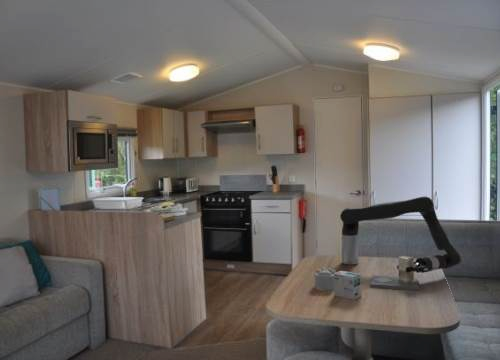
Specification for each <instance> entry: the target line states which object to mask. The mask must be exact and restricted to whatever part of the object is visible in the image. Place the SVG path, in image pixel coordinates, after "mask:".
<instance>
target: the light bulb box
mask: <svg viewBox="0 0 500 360" xmlns="http://www.w3.org/2000/svg"><path fill="white" fill-rule="evenodd" d="M361 279H362V278H361V273H356V272H351V271H344V270H339V271H336V273H334V290H333V291H334V293H333V294H334V295H336V297H339V296H340V297H339V298H343V297H344V299H347V298H348V300H352V301H354V300H355V301H356V299H359V298H361V297H362V285H361V284H362V282H361ZM334 295H333V296H334Z"/></svg>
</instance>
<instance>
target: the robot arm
mask: <svg viewBox="0 0 500 360" xmlns="http://www.w3.org/2000/svg"><path fill="white" fill-rule="evenodd" d="M411 213H412V214H414V213H419V214H420V215H421V216H422V218H423V219H424V221H425V223H426V226H427V228H428V229H429V233H430V235H431V238H432V240H433V242H434V244H435V247H436V248H437V250H438V251H444V252H445V254H442V255H440V254H436V255H428V256H422V257H417V258H416V259H415V261H414V266H413V267H407V268H406V272H412V271H413V272H414V273H415V272H416V273H422V274H424V273H428V272H434V271H436V270H440V269H444V270H445V269H450V268H452V267H456V266H457V265H459V264H461V261H462V258H461V255H460V253H459V252H458V251H457V249H456V248H455V247H454V246H453V245H452V243H451V241H450V239H449V238H448V236H447V233H446V232H445V230H444V228H443V227H442V224H441V222H440V221H439V219H438V216H437V213H436V210H435V204H434V202H433V200H432V199H431V198H430V197H429V196H423V195H422V196H419V197H415V198H411V199H410V198H409V199H406V200H405V199H404V200H396V201H388V202H381V203H376V204H371V205H369V206H365V207H360V208H355V207H352V206H348V207H345V208H344V209H343V210H342V211H341V213H340V220H341V221H342V229H341V238H342V239H341V241H342V245H341V263H342V264H345V265H357V264H359V226H360V225H359V222H364V221H374V220H375V221H376V220H377V221H378V220H387V219H394V218H397V217H400V216H402V215H406V214H411ZM396 267H397V268H396V269H397V270H398V271H399V269H398V264H397V266H396Z"/></svg>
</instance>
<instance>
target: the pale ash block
mask: <svg viewBox="0 0 500 360" xmlns="http://www.w3.org/2000/svg"><path fill="white" fill-rule="evenodd" d="M397 259H398V260H397V261H398V264H397V265H398V269H399V270H398V269H397V270H398V277H399V281H401V282H404V283H410V282H414V278H415V277H414V276H415V275H414V274H415V272H413V271H412V272H406V268H407V267H413V266H414V259H415V258H414V257H413V256H409V255H401V256H398V258H397Z"/></svg>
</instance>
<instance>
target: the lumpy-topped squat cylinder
mask: <svg viewBox="0 0 500 360" xmlns="http://www.w3.org/2000/svg"><path fill="white" fill-rule="evenodd" d="M336 272H337V271H336V270H335V269H332V268H331V267H328V268H325V267H322V268H321V269H320V268H318V269H316V270H315V272H314V289H315V288H317V289H323V290H322V291H327V290H333V291H334V273H336ZM317 289H316V290H317Z"/></svg>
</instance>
